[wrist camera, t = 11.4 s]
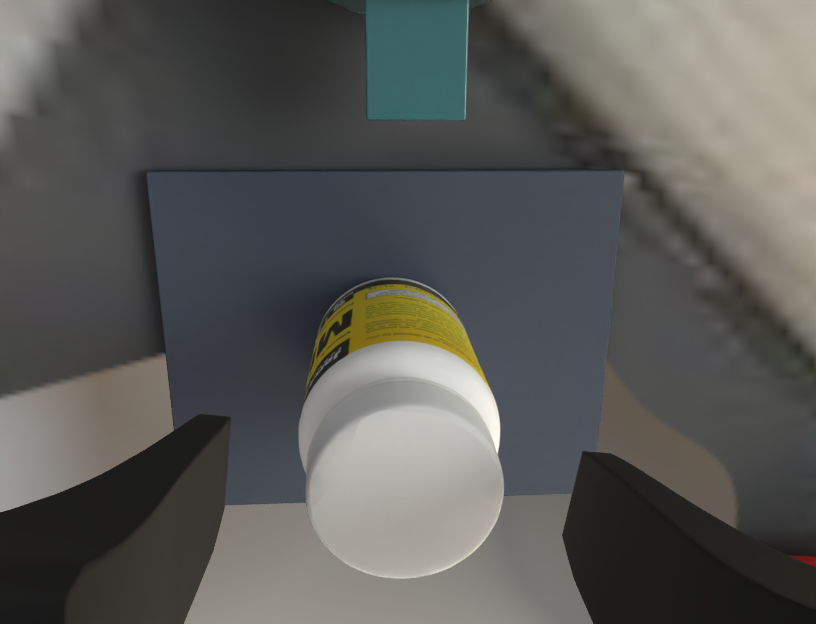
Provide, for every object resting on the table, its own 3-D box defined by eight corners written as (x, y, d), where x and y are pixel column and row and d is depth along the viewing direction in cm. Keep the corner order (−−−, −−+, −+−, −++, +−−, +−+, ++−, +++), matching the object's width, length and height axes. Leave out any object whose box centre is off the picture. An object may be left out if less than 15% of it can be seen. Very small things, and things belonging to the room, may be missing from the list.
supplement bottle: (330, 259, 20) (310, 362, 12) (481, 290, 21) (554, 407, 13) (302, 402, 22) (267, 580, 14) (445, 428, 22) (491, 611, 14)
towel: (184, 500, 23) (182, 507, 22) (149, 170, 20) (145, 171, 19) (590, 486, 24) (594, 493, 23) (620, 169, 21) (625, 170, 20)
